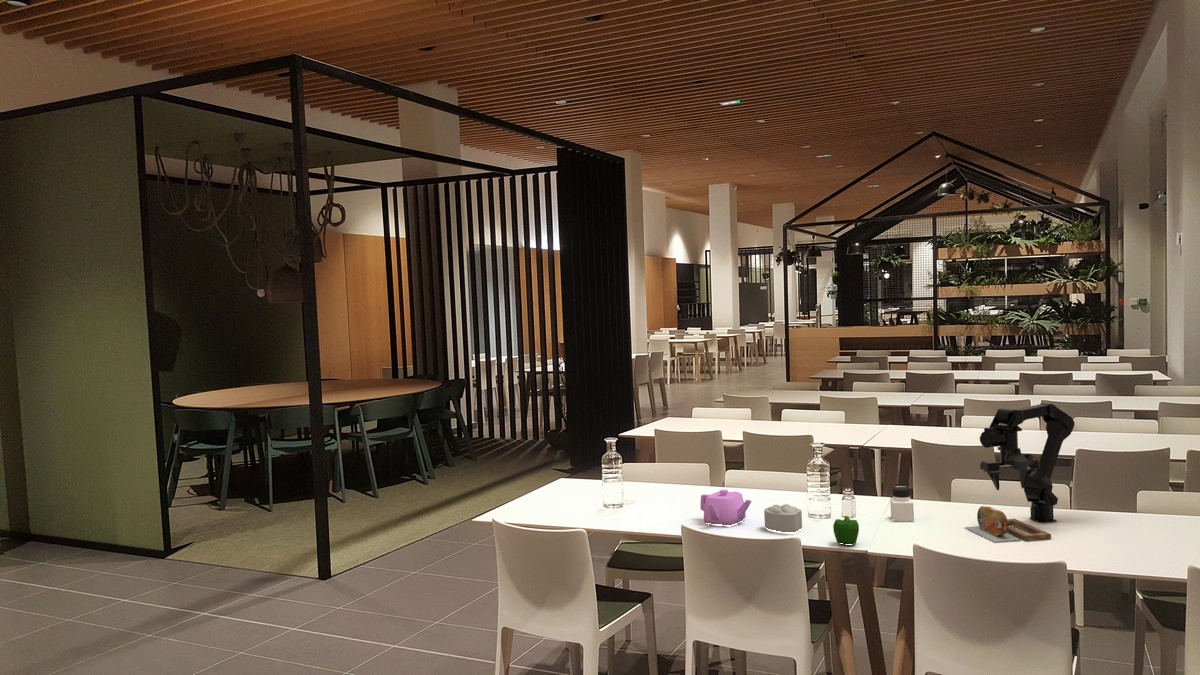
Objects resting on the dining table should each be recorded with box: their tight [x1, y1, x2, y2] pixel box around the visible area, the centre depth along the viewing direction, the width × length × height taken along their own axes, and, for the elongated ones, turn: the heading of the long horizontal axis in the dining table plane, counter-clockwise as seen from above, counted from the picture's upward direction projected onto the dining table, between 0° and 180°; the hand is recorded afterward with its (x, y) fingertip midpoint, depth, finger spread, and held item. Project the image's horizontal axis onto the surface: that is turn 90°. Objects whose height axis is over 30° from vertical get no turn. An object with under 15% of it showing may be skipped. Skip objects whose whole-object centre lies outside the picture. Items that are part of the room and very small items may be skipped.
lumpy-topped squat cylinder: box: [763, 503, 803, 532], centre depth 306 cm, size 10×13×9 cm
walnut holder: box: [1006, 518, 1052, 542], centre depth 288 cm, size 9×21×2 cm, turn 5°
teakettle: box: [699, 488, 752, 525], centre depth 321 cm, size 17×17×12 cm
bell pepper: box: [832, 515, 860, 545], centre depth 284 cm, size 8×8×10 cm
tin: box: [976, 505, 1008, 536], centre depth 287 cm, size 15×3×8 cm, turn 5°
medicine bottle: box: [889, 485, 915, 522], centre depth 312 cm, size 7×7×12 cm
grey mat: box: [963, 525, 1022, 544], centre depth 287 cm, size 9×19×1 cm, turn 5°
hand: (1010, 489), depth 295 cm, fingers open, 9 cm apart
